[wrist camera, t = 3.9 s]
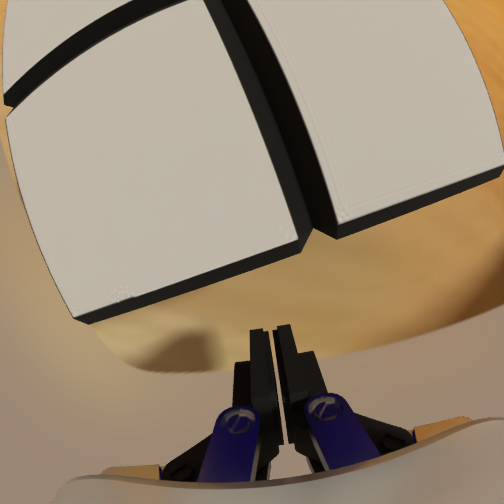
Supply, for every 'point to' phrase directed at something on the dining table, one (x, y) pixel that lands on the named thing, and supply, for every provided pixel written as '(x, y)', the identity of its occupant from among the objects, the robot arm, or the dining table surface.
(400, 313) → the dining table surface
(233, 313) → the dining table surface
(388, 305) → the dining table surface
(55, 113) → the puzzle cube
